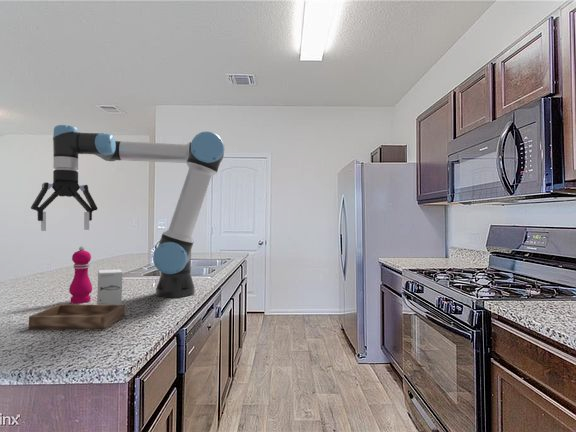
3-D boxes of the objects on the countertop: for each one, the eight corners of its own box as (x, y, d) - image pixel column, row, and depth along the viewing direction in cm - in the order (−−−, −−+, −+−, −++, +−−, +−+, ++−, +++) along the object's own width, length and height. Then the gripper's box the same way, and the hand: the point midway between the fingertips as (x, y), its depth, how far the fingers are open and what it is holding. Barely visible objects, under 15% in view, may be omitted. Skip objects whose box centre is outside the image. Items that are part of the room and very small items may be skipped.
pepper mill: (64, 302, 129) (65, 246, 129) (82, 298, 135) (83, 245, 136) (78, 304, 126) (79, 247, 126) (96, 300, 133) (97, 246, 133)
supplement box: (96, 311, 117) (97, 272, 118) (97, 306, 124) (97, 269, 124) (121, 309, 121) (122, 271, 121) (120, 304, 127) (121, 268, 127)
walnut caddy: (124, 316, 113) (124, 304, 113) (104, 329, 99) (104, 317, 99) (58, 315, 112) (58, 304, 112) (28, 329, 98) (28, 316, 98)
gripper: (98, 174, 140) (98, 229, 140) (20, 167, 121) (20, 231, 121) (107, 172, 135) (107, 229, 135) (26, 165, 116) (26, 231, 116)
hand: (65, 230), depth 128 cm, fingers open, 13 cm apart
